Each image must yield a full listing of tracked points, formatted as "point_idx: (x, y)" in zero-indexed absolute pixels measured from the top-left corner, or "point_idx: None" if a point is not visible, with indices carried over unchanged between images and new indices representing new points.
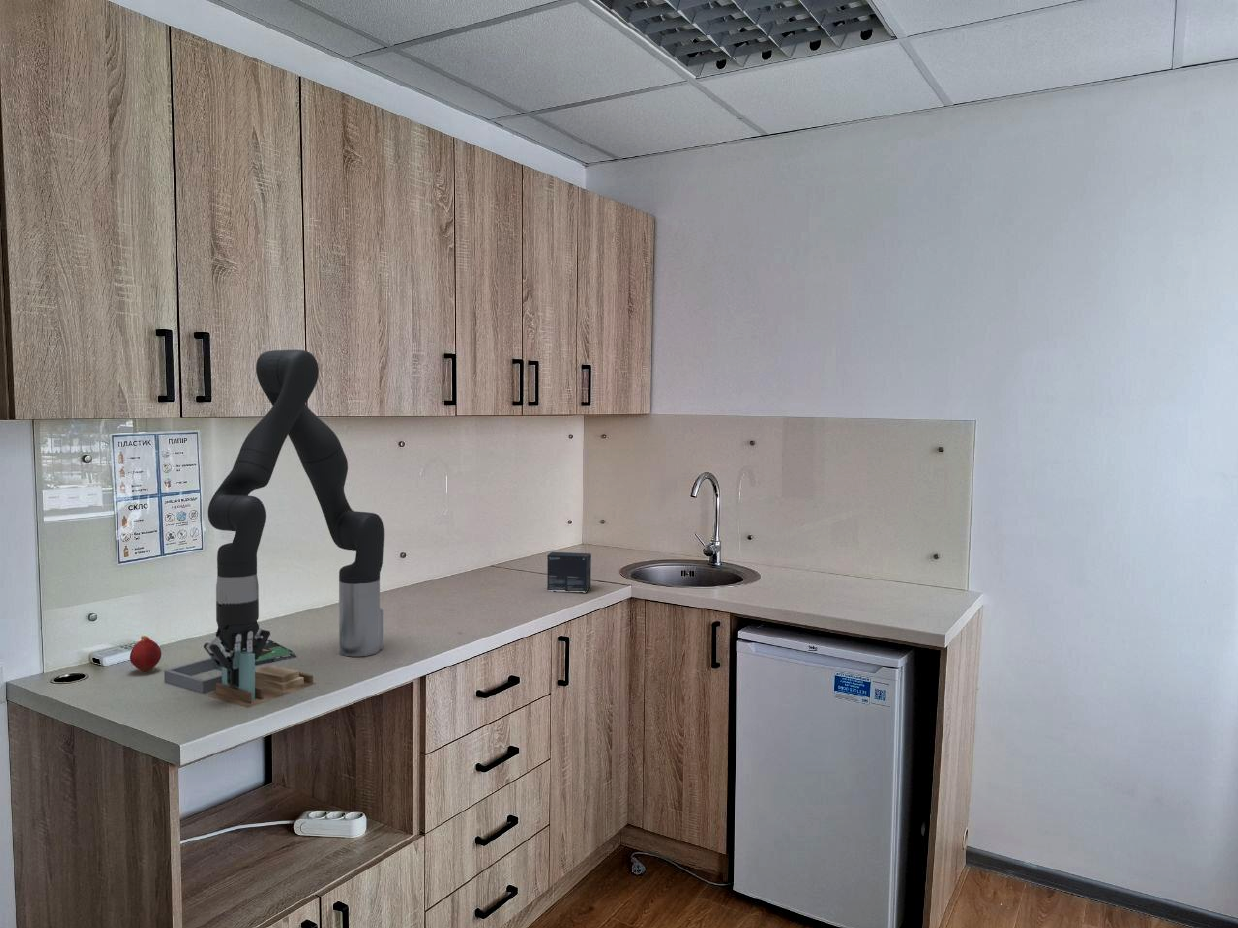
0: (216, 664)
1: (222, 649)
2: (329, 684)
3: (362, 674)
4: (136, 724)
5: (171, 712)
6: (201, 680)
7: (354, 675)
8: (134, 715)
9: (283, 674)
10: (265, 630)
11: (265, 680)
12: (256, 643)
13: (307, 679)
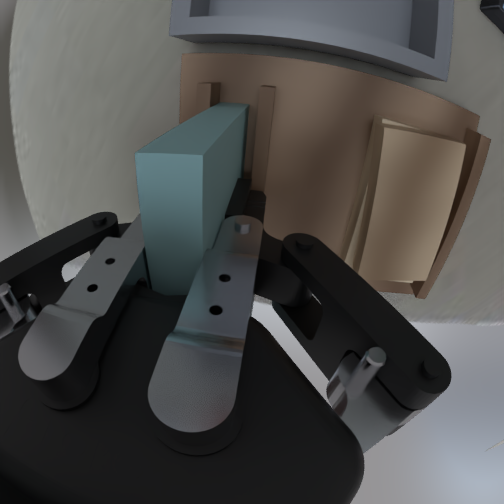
0: (85, 220)
1: (137, 161)
2: (441, 286)
3: (495, 299)
4: (18, 96)
5: (82, 75)
6: (176, 17)
7: (491, 291)
8: (37, 32)
9: (382, 264)
10: (396, 427)
11: (364, 190)
12: (327, 344)
13: (416, 282)
